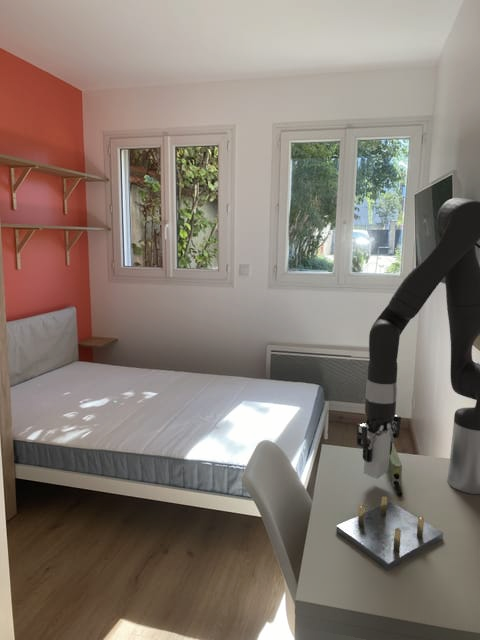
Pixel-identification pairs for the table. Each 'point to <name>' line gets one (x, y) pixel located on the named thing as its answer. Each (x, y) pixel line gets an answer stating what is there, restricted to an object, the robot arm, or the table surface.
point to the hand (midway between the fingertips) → (377, 457)
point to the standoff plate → (389, 533)
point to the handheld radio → (395, 470)
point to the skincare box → (378, 455)
